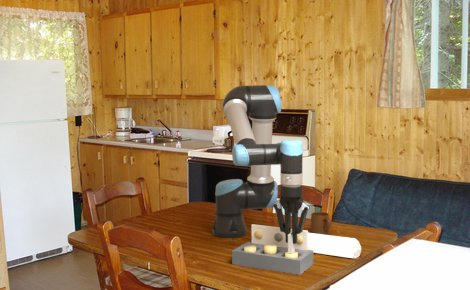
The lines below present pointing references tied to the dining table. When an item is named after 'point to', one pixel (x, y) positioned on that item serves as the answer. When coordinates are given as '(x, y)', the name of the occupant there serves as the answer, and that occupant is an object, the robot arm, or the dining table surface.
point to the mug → (320, 223)
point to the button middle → (270, 249)
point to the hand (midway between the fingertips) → (291, 252)
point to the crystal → (334, 245)
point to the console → (279, 261)
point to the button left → (250, 248)
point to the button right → (291, 255)
